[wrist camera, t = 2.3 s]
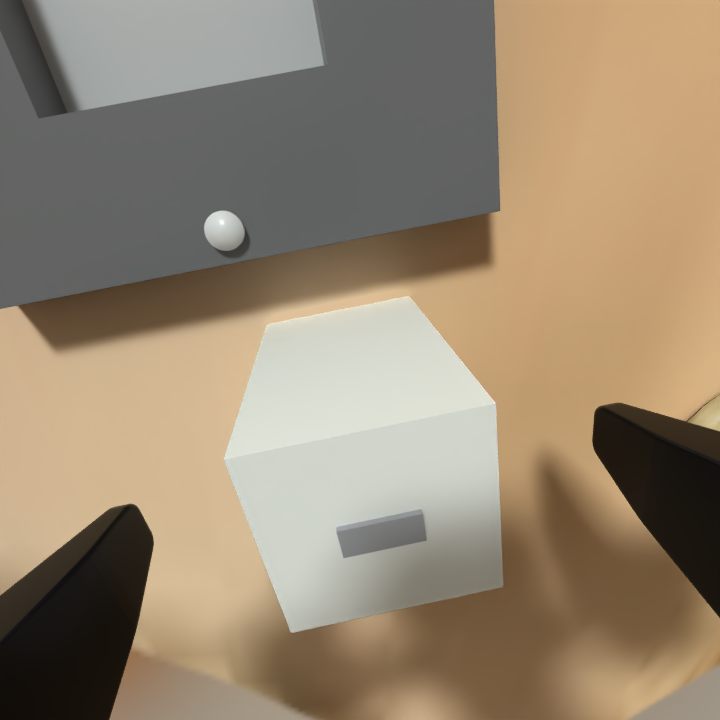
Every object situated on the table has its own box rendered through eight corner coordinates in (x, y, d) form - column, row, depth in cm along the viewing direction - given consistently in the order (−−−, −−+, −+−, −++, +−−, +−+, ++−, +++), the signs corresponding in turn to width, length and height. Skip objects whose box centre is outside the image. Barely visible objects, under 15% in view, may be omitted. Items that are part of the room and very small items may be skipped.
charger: (409, 295, 11) (498, 407, 6) (424, 416, 13) (505, 592, 8) (266, 324, 11) (222, 463, 6) (300, 442, 13) (290, 638, 7)
